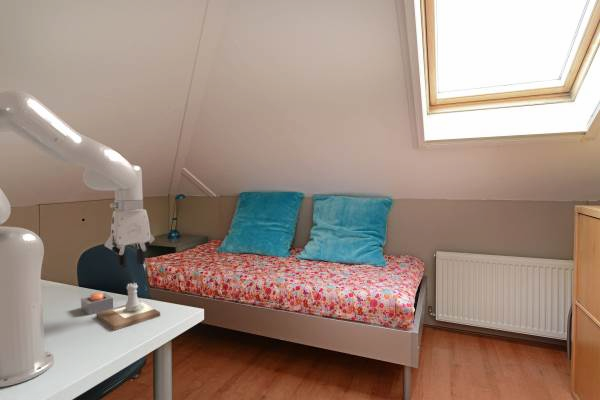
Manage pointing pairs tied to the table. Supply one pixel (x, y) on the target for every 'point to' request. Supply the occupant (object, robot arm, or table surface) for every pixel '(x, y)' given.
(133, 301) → the rook chess piece
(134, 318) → the board
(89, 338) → the table surface
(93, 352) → the table surface
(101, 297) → the button
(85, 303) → the button base
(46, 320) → the table surface
